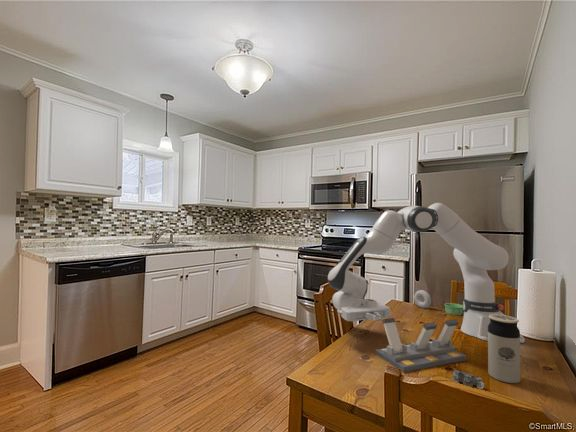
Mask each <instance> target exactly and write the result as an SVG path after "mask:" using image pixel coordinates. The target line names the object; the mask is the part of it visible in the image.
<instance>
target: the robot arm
mask: <svg viewBox="0 0 576 432" xmlns="http://www.w3.org/2000/svg"><path fill="white" fill-rule="evenodd" d="M431 229H433V230H434V232H436V233H437V234H438V235H439V236H440V237H441V238H442V239H443V240H444V241H445V242H446V243H447V244H448V245H449V246H450V247H452V248H454V249H453V258H454V259H455V261H456V262H457V263H458V265H459V268H460V270H461V274H462V278H463V283H464V286H463V287H464V288H463V289H464V298H463V299H462V300H463V301H462V306H463V318H462V324H461V327H460V328H459V329H460V331H461V332H462V333H463V334H465V335H468V336H471V337H475V338H477V339H480V340H483V341H487V342H488V325H489V323H490V318H489V315H492V314H499V315H505V314H504V313H503V312H502V311H504V310H505V306H504V305H503V304H501V303H499V302H496V301H495V298H496V297H495V292H496V291H495V283H494V280H493V279H491V277H490V276H489V275H488V274H489V273H488V271H499V270H502V269H505V268H506V267H507V265H508V263H509V260H510V259H509V253H508V251H507V250H506V249H505V248H503V247H502V246H500V245H497V244H496V243H493V242H492V241H491V240H489V239H488V238H486V237H484V236H483V235H481V234H480V233H478V232H477V231H475V230H474V229H473V228H471V227H470V226H469V225H468V223H466V222H465V220H463V219H462V218H461V217H460V216H459V215H458V214H457V213H456V212H455V211H454V210H452V209H451V208H449V206H447V205H445V204H444V203H442V202H435V203H432V204H431V205H429V206H428V207H426V206H419V205H406V206H404V207H401V208H400V209H397V211H394V210H390V209H389V210H385V211H384V212H383V213H382V214H381V215H380V216H379V217H378V218H377V220H376V221H375V223H374V224H373V226H372V228H371V229H370V230H369V232H367V234H365V235H364V236H360V237H358V238H357V239H356V240H355V241H354V242H353V244H352V245H351V246H350V247H349V249H348V250H347V251H346V252H345V253H344V255H343V256H342V257H341V259H340V260H339V261H338V262H337V263H336V265H334V266H333V267H332V268H331V269H330V270H329V272H328V274H327V282H328V285H329V287H330V288H331V289H333V290H336V291H337V292H335V293H334V294H333V295H332V299H331V300H332V302H331V303H332V304H333V306H334V308H335V309H336V312H337V314H339V315H340V316H341V318H342V319H344V320H345V321H346V322H357V321H366V320H370V321H373V322H378V321H382V319H388V318H391V316H392V315H391V313H392V310H391V308H390V307H389V306H388V305H385V304H383V303H381V302H377V300H376V299H370V298H366V296H367V293H368V290H369V288H368V287H369V286H368V282H367V280H366V278H365V277H363V276H362V275H359V274H357V273H354V272H353V271H351V270H349V269H350V268H352V266H353V265H354V263H355V262H357V261H356V260H357V259H358V258H359V257H361V256H362V255H364V254H365V255H366V254H376V255H377V254H384V253H386V252H388V251H390V249H392V246H394V243H395V242H396V240H397V238H398V237H399V234H401V232H402V231H405V230H408V231H412V232H416V233H424V232H427V231H429V230H431ZM525 340H526V339H525V337H524V336H523V335H522V334H521V333H520V344H521V343H522V344H524V343H525V342H526V341H525Z"/></svg>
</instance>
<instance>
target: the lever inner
mask: <svg viewBox="0 0 576 432" xmlns="http://www.w3.org/2000/svg"><path fill="white" fill-rule="evenodd" d="M459 324H460V322H459V320H457V319H456V318H453V319H446V320H445V324H444V326H443V327H442V330H441V332H440V334H439V335H438V338H437V340H438V341H440V345H444V344H447V343H448V341H449V339H451V336H452V335H453V333H454V331H455V330H456V327H457V326H458V325H459Z"/></svg>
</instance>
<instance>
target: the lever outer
mask: <svg viewBox="0 0 576 432" xmlns="http://www.w3.org/2000/svg"><path fill="white" fill-rule="evenodd" d="M381 322H382V324H383V327H384V330H385V333H386V337H387V341H388V346H390V347H392V348H394V352H400V351H403V348H402V344H403V343H402V342H401V338H400V335H399V331H398V329H397V325H396V320H395V318H394V317H388V318H382V319H381Z"/></svg>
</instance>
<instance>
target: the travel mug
mask: <svg viewBox="0 0 576 432" xmlns="http://www.w3.org/2000/svg"><path fill="white" fill-rule="evenodd" d="M489 318H490V323H489V325H488V341H487V371H488V372H487V374H488V375H489V376H491V377H492V378H493V379H495V380H497V381H499V382H502V383H507V384H518V383H520V382H521V343H520V334H521V332H520V328H519V327H518V323H519V321H520V320H519V319H518V318H516V317H515V316H514V317H513V316H510V315H505V314H504V315H499V314H492V315H489Z"/></svg>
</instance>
